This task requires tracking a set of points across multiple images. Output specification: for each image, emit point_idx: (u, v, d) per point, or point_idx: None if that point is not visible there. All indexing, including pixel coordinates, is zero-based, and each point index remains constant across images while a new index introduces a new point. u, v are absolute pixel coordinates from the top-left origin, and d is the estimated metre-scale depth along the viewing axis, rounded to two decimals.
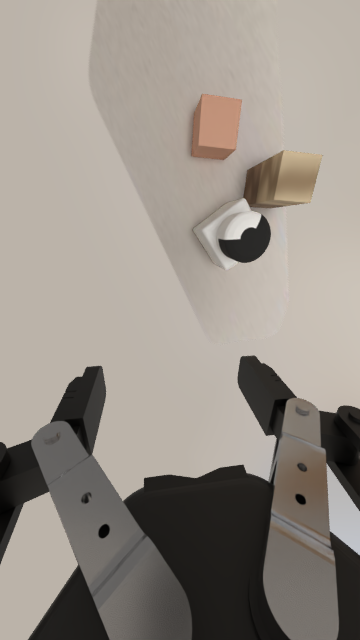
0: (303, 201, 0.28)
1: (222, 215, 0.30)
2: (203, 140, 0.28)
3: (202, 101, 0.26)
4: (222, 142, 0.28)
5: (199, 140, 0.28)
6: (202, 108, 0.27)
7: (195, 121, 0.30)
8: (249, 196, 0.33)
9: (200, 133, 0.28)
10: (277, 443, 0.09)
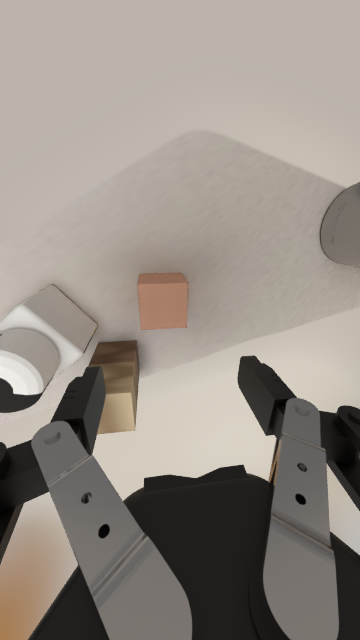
0: None
1: (51, 330, 0.20)
2: (143, 290, 0.22)
3: (181, 284, 0.22)
4: (145, 313, 0.23)
5: (143, 284, 0.22)
6: (174, 284, 0.22)
7: (170, 275, 0.25)
8: (104, 352, 0.27)
9: (150, 285, 0.22)
10: (277, 443, 0.09)
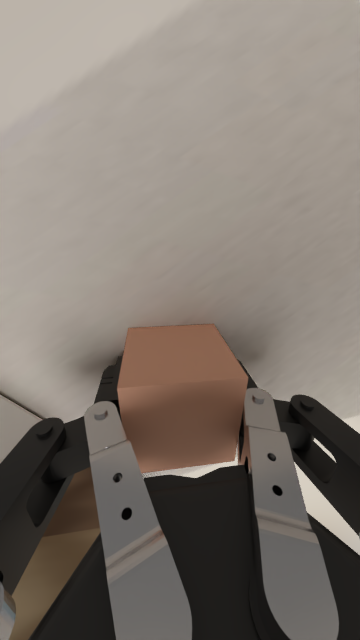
0: None
1: None
2: (134, 399, 0.08)
3: (231, 380, 0.09)
4: (139, 445, 0.09)
5: (132, 387, 0.08)
6: (214, 383, 0.08)
7: (195, 337, 0.11)
8: None
9: (151, 388, 0.08)
10: (239, 434, 0.10)
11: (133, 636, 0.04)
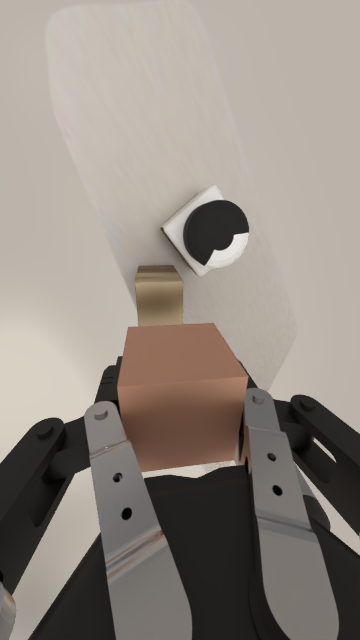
0: (144, 283, 0.23)
1: None
2: (134, 398, 0.08)
3: (231, 379, 0.09)
4: (139, 443, 0.09)
5: (132, 386, 0.08)
6: (214, 382, 0.08)
7: (195, 336, 0.11)
8: None
9: (151, 387, 0.08)
10: (239, 434, 0.10)
11: (133, 635, 0.04)
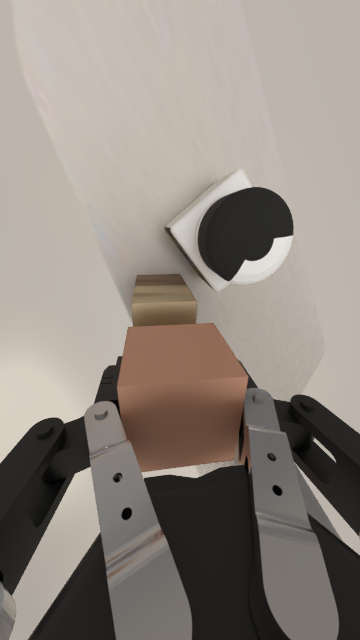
0: (143, 303, 0.17)
1: None
2: (134, 398, 0.08)
3: (231, 379, 0.09)
4: (139, 443, 0.09)
5: (132, 386, 0.08)
6: (215, 382, 0.08)
7: (195, 336, 0.11)
8: None
9: (151, 387, 0.08)
10: (239, 434, 0.10)
11: (133, 636, 0.04)
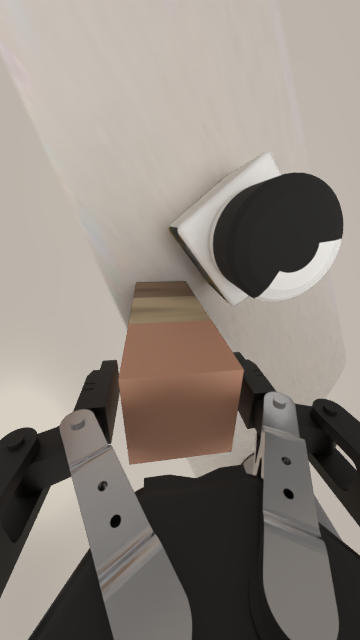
0: None
1: None
2: (134, 390, 0.09)
3: (227, 372, 0.09)
4: (139, 435, 0.10)
5: (133, 379, 0.08)
6: (211, 375, 0.09)
7: (193, 332, 0.12)
8: None
9: (151, 380, 0.08)
10: (257, 437, 0.10)
11: None
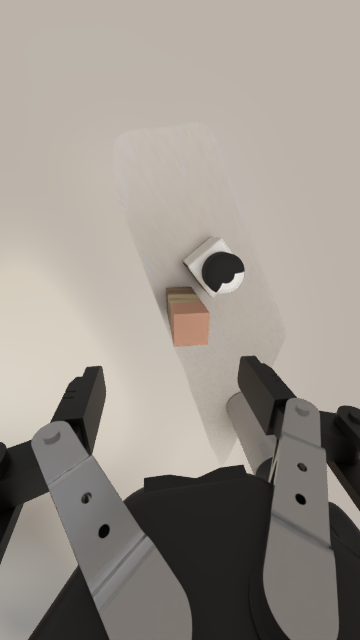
0: None
1: None
2: (177, 318, 0.30)
3: (204, 313, 0.30)
4: (178, 334, 0.31)
5: (177, 314, 0.30)
6: (199, 314, 0.30)
7: (194, 305, 0.33)
8: None
9: (182, 314, 0.30)
10: (277, 443, 0.09)
11: None
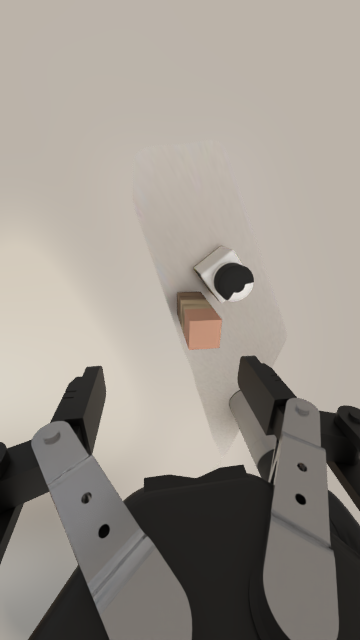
0: None
1: None
2: (193, 324, 0.33)
3: (217, 320, 0.33)
4: (192, 339, 0.34)
5: (193, 321, 0.33)
6: (213, 321, 0.33)
7: (207, 311, 0.36)
8: None
9: (197, 321, 0.33)
10: (277, 443, 0.09)
11: None
